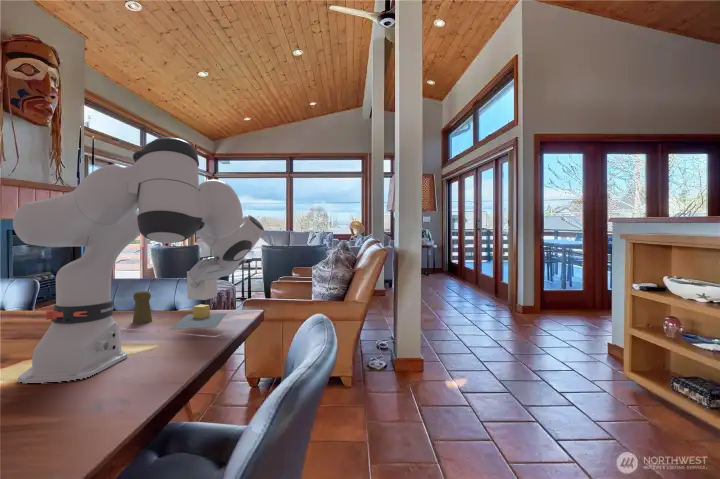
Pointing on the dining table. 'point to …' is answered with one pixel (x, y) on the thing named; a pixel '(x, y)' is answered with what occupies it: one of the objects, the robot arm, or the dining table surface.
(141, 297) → the cork
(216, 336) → the dining table surface
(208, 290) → the cover
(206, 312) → the yellow cube
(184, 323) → the mat
